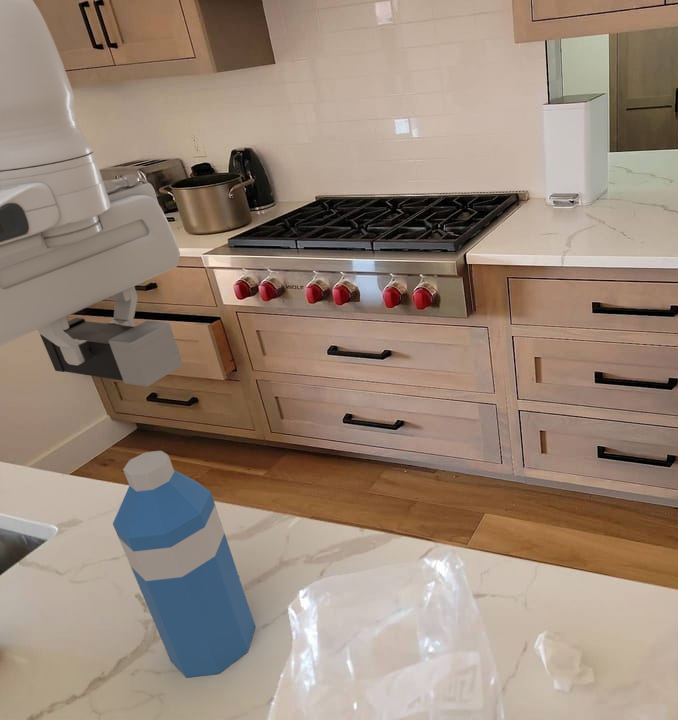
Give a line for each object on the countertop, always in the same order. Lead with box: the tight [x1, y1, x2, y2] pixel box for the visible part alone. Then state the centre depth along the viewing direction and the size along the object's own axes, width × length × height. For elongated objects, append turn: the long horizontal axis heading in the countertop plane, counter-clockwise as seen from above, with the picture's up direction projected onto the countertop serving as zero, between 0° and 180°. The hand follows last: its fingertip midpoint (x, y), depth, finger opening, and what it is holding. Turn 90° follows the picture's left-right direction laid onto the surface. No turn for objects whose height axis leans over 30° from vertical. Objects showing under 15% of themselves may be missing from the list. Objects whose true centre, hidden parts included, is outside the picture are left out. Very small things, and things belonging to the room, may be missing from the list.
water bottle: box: [112, 450, 256, 679], centre depth 72 cm, size 9×9×25 cm
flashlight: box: [39, 317, 184, 388], centre depth 61 cm, size 12×4×4 cm, turn 67°
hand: (103, 349), depth 62 cm, fingers closed on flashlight, 3 cm apart
